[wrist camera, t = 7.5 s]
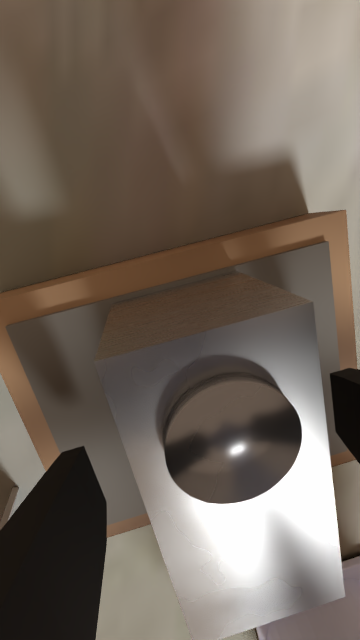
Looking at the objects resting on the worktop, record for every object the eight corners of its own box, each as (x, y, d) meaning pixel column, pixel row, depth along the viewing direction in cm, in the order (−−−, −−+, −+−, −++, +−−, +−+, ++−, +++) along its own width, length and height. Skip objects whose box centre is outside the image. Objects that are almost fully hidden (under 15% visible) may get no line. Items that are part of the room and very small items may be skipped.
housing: (272, 468, 12) (355, 615, 8) (173, 498, 12) (198, 669, 7) (236, 270, 10) (326, 306, 5) (112, 303, 10) (90, 372, 5)
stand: (331, 425, 15) (367, 460, 13) (88, 499, 14) (79, 550, 12) (309, 213, 12) (349, 209, 10) (0, 292, 11) (-34, 308, 9)
